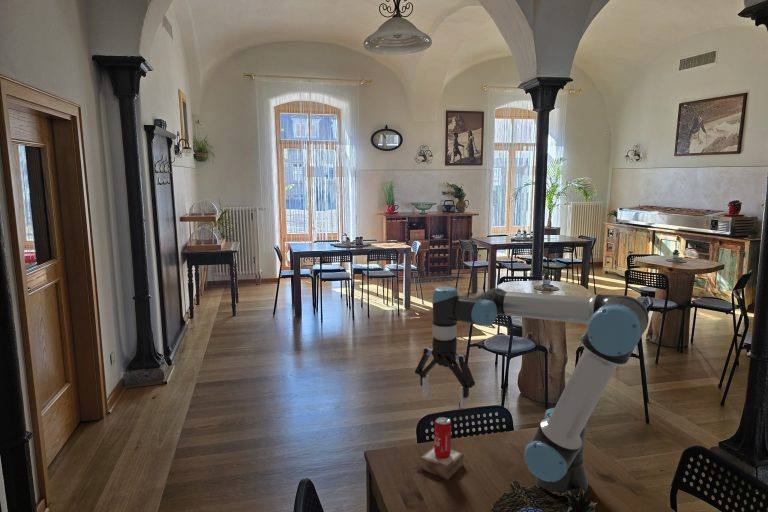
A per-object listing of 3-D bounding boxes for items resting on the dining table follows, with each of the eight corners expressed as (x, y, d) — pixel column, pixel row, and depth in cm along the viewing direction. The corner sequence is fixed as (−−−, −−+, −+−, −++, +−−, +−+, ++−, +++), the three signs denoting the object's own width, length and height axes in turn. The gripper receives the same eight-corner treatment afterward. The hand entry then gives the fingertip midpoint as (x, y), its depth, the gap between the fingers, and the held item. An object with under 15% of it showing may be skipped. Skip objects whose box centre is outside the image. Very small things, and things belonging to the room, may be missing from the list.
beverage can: (449, 460, 162) (450, 425, 160) (433, 458, 163) (434, 423, 161) (450, 451, 167) (451, 417, 165) (435, 450, 168) (435, 416, 166)
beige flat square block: (463, 464, 167) (463, 453, 166) (448, 479, 159) (448, 467, 158) (436, 454, 173) (436, 443, 172) (420, 468, 165) (420, 456, 164)
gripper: (486, 340, 154) (485, 406, 158) (417, 326, 169) (417, 387, 172) (475, 347, 148) (474, 416, 152) (404, 332, 163) (404, 395, 166)
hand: (443, 401), depth 162 cm, fingers open, 13 cm apart
